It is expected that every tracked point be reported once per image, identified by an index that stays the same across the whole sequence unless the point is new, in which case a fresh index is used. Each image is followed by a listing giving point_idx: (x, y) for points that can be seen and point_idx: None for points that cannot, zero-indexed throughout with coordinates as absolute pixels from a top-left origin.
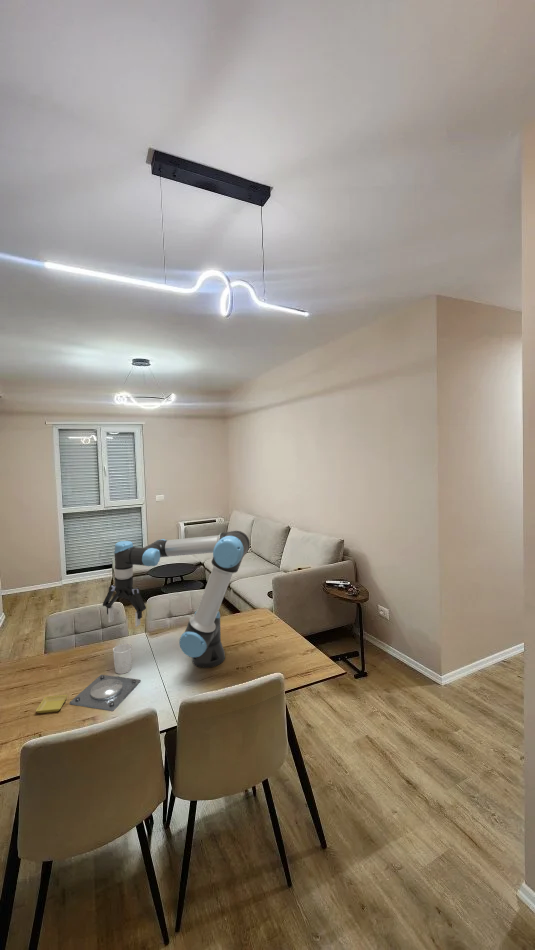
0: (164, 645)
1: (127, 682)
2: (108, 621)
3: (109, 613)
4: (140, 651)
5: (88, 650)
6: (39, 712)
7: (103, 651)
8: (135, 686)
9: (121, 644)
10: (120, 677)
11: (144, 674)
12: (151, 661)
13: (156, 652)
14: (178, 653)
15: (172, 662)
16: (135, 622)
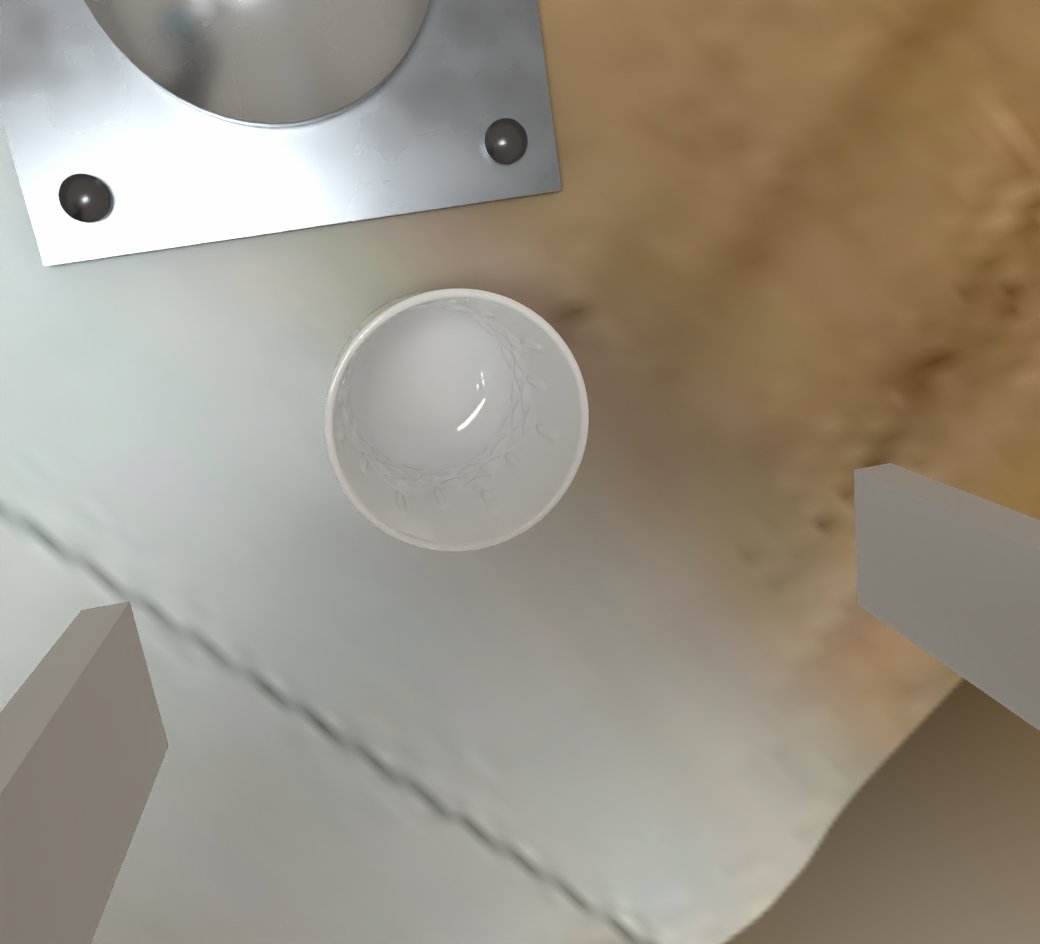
0: (353, 909)
1: (150, 162)
2: (906, 471)
3: (1035, 543)
4: (510, 718)
5: None
6: None
7: None
8: (16, 151)
9: (550, 499)
10: (310, 218)
11: (125, 398)
12: (252, 626)
13: (334, 777)
14: None
15: None
16: (88, 652)
